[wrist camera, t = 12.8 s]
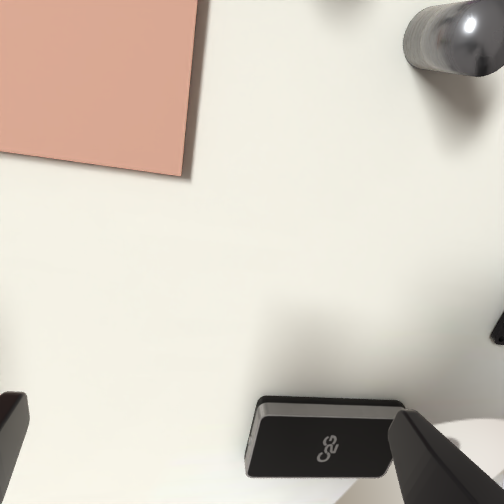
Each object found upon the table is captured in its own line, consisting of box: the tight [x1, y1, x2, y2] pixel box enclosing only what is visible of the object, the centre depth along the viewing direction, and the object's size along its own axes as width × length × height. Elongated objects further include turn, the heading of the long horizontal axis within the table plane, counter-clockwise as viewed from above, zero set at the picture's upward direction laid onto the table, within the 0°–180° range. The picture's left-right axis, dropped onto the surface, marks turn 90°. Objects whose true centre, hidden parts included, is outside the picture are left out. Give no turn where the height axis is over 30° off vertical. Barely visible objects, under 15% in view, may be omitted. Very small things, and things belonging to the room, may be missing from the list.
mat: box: [0, 0, 198, 176], centre depth 15 cm, size 12×10×1 cm
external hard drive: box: [245, 396, 405, 478], centre depth 28 cm, size 7×11×2 cm, turn 81°
